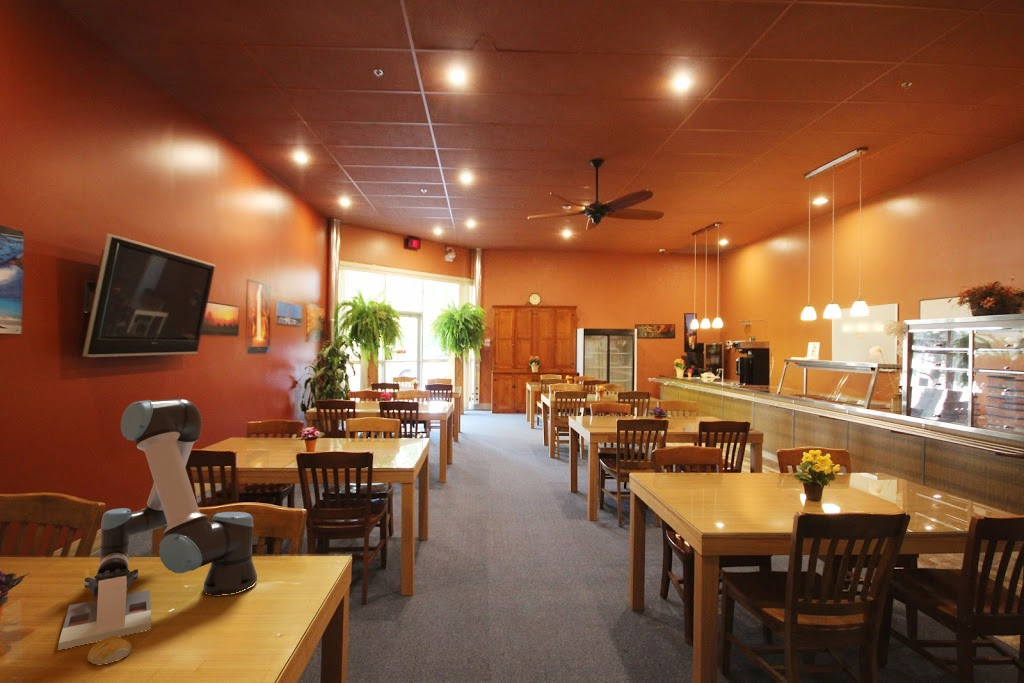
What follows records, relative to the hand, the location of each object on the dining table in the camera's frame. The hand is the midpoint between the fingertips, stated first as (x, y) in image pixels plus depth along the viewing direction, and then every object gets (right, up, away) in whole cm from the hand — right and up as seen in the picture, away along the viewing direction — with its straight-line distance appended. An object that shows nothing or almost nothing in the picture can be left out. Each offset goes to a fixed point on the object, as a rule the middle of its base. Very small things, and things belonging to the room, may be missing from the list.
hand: (109, 598), depth 144 cm
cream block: (+2, -6, -3) cm, 6 cm away
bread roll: (+11, -8, -14) cm, 19 cm away
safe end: (+2, -7, -3) cm, 8 cm away
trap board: (-5, -8, +6) cm, 11 cm away
